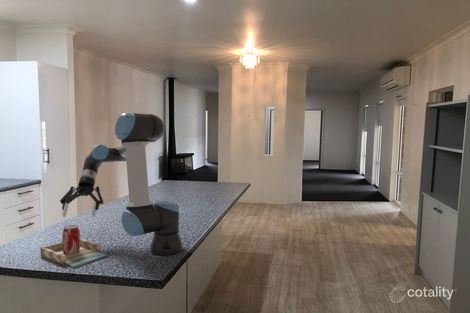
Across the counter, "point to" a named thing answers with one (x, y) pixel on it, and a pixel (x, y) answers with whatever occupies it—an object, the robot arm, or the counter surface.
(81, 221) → the counter surface
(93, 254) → the truck bed
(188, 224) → the counter surface
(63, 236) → the soda can
